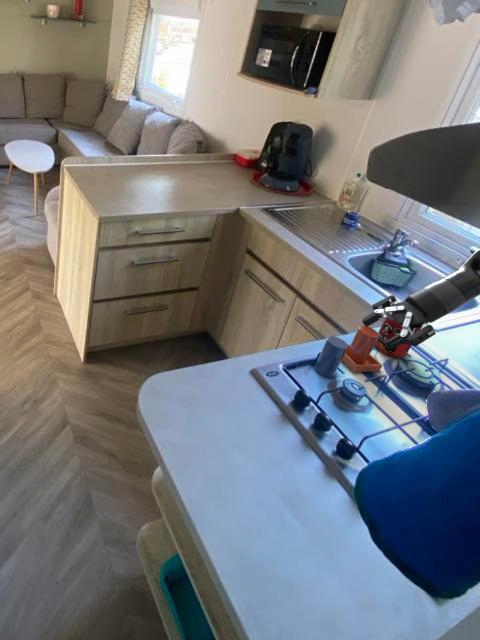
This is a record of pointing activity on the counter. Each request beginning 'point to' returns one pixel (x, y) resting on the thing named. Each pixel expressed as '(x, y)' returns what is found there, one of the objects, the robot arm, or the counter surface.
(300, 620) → the counter surface
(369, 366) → the terracotta tray
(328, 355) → the cylinder
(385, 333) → the canned food
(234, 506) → the counter surface
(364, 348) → the cylinder
